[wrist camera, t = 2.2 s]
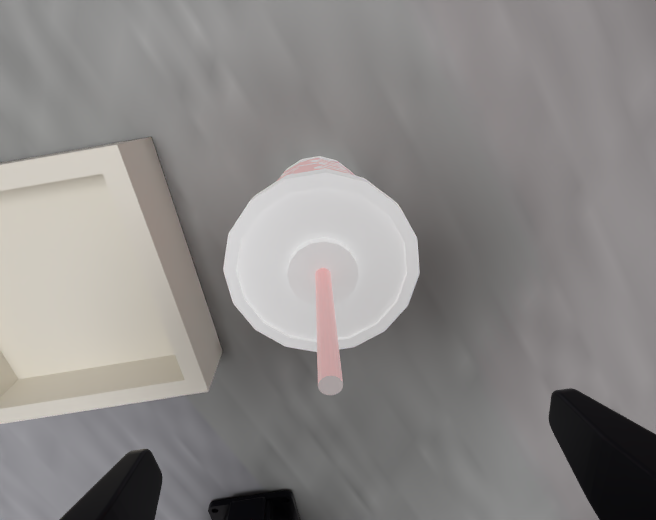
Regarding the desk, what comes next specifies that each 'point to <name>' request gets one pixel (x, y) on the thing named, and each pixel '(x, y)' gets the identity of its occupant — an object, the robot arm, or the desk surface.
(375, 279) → the beverage cup
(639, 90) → the desk surface
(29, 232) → the tray
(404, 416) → the desk surface
